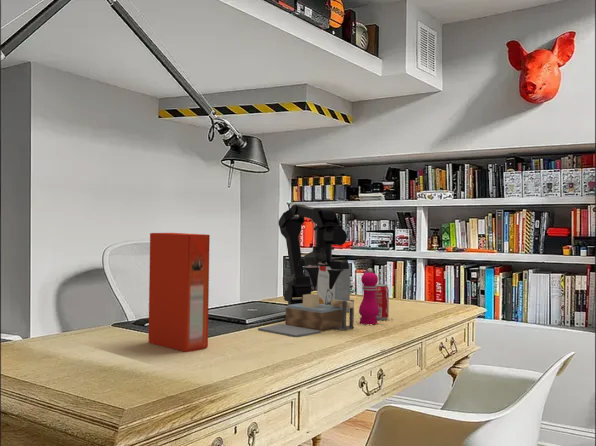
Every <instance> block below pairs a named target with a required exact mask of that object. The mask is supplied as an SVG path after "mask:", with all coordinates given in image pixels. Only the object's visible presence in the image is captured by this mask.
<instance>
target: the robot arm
mask: <svg viewBox="0 0 596 446" xmlns="http://www.w3.org/2000/svg"><path fill="white" fill-rule="evenodd" d="M305 218H308V219H310V220H311V221H312V222H313V223H314V224H316V225H315V227H313V231H315V246H313V248H312V251H310V252H308V253H306V254H305V255H304V256H303V257H302V253H301V252H302V251H301V244H300V238H299V237H300V234H301V232H302V230H303V229H302V226H303V225H304V223H305ZM278 227H279V230H280V234H281V235H282V236H283V237H284V239H285V241H286V243H285V244H286V249H287V255H288V261H289V262H288V263H289V270H290V277H289V280H288V282H287V286H288V287H287V289H286V291H284V292H285V293H284V294H283V300H284V301H285V302H287V305H292V304H300V303H303V295H306V294H312V292H313V291H312V290H313V289H312V287H313V288H317V284H318V273H319V267H318V266H327V267H331V270H327V271H328V273H329V289H332V288H333V286H334V284H335V282H336V280H337V278H338V276H339V275H340V273H341V271H344V270H343V269H349V262H348V260H335V258H332V257H333V256H332V254H333V251H334V250H335V246H343V245H344V244H345V243H346V242H347V239H348V235H347V232H346V230H345V229H343V225H341V222H340V221H339V218H338V215H337V213H336V212H335V209H334V208H326V207H324V208H322V207H311V206H307V205H304V204H292V205H291V207H290V208H289V209H287V210H286V211H285V212H283V213H282V214H281V216H280V218H279V219H278ZM320 262H322V263H320ZM304 270H306V271H307V273H308V275H309V276H307V275H306V274H305V271H304ZM284 318H286V314H285V315H284Z"/></svg>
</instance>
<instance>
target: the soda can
mask: <svg viewBox="0 0 596 446" xmlns="http://www.w3.org/2000/svg"><path fill="white" fill-rule="evenodd" d="M388 285H389V284H385V283H384V284H383V283H377V284H376V290H375V299H376V302H377V305H378V308H379V314H378V315H377V316H376V318H377V321H387V320H388V318H389V316H390V315H389V312H390V311H389V309H390V308H389V305H390V303H389V299H390V293H389V290H390V288H389V287H388Z"/></svg>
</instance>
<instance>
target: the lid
mask: <svg viewBox="0 0 596 446" xmlns="http://www.w3.org/2000/svg"><path fill="white" fill-rule="evenodd" d="M286 308H291V309H298V310H304V311H311V312H318V313H325V312H331V311H338V310H342V307H336V306H331V305H324V304H319V295H317V294H313V293H311V294H306V295H303V303H300V304H292V305H288V304H287V307H286Z"/></svg>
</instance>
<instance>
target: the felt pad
mask: <svg viewBox="0 0 596 446" xmlns="http://www.w3.org/2000/svg"><path fill="white" fill-rule="evenodd" d="M257 330H258V331H261V332H267V333H271V334H278V335H283V336H288V337H292V338H299V337H300V338H301V337H306V336H311V335H315V334H320V333H321V332H322V331H318V330H313V329H307V328H301V327H296V326H290V325H285V323H284V324H275V325H269V326H264V327H258V328H257Z"/></svg>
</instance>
